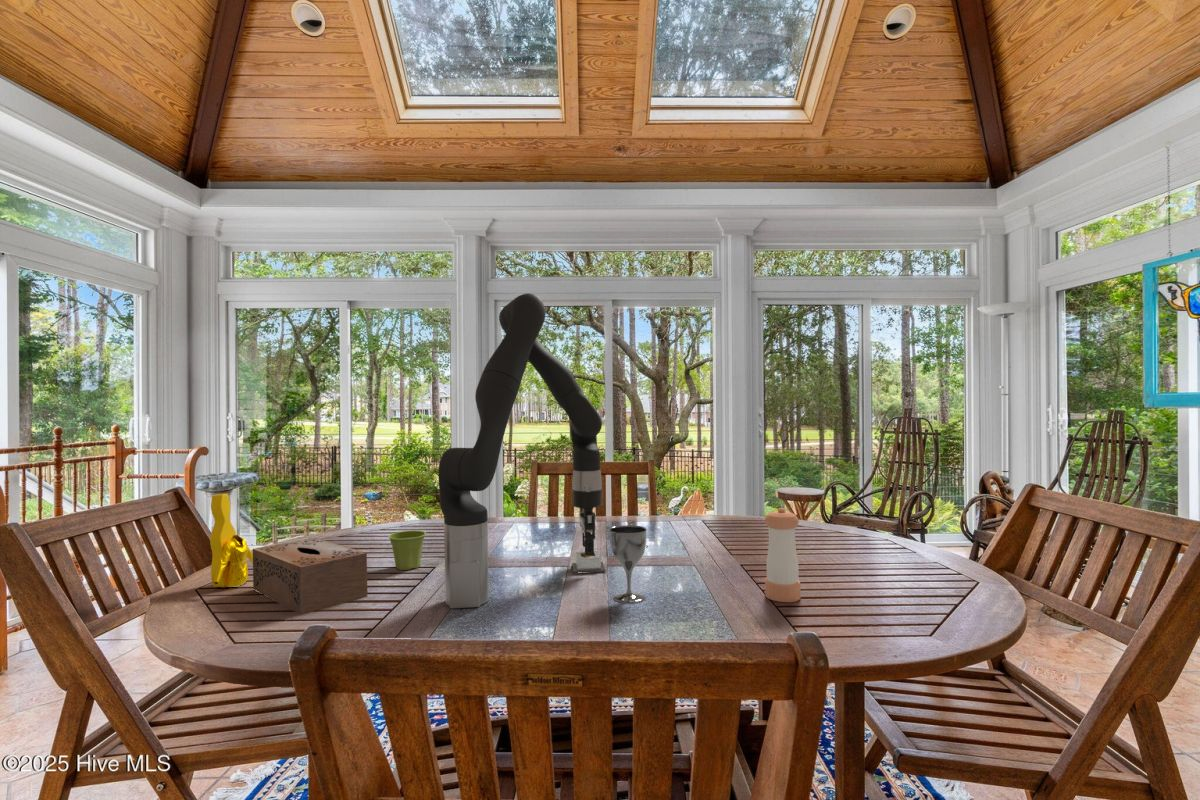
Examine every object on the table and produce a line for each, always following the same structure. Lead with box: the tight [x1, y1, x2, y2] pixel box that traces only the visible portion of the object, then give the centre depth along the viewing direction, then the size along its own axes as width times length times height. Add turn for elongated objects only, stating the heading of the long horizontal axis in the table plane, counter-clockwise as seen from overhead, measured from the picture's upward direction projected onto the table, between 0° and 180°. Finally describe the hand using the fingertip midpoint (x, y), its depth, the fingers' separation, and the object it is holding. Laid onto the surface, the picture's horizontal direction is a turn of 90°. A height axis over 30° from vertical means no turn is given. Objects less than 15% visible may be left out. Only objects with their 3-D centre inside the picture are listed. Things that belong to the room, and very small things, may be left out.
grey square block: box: [574, 550, 602, 570], centre depth 154 cm, size 6×6×3 cm
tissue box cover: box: [252, 537, 368, 616], centre depth 138 cm, size 26×14×10 cm, turn 49°
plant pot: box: [388, 530, 427, 571], centre depth 158 cm, size 9×9×9 cm
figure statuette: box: [209, 493, 253, 588], centre depth 145 cm, size 18×8×22 cm, turn 1°
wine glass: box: [609, 524, 647, 605], centre depth 131 cm, size 8×8×15 cm
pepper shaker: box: [764, 507, 802, 603], centre depth 130 cm, size 7×7×19 cm
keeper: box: [571, 555, 607, 574], centre depth 154 cm, size 8×8×6 cm
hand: (588, 550), depth 154 cm, fingers open, 8 cm apart
